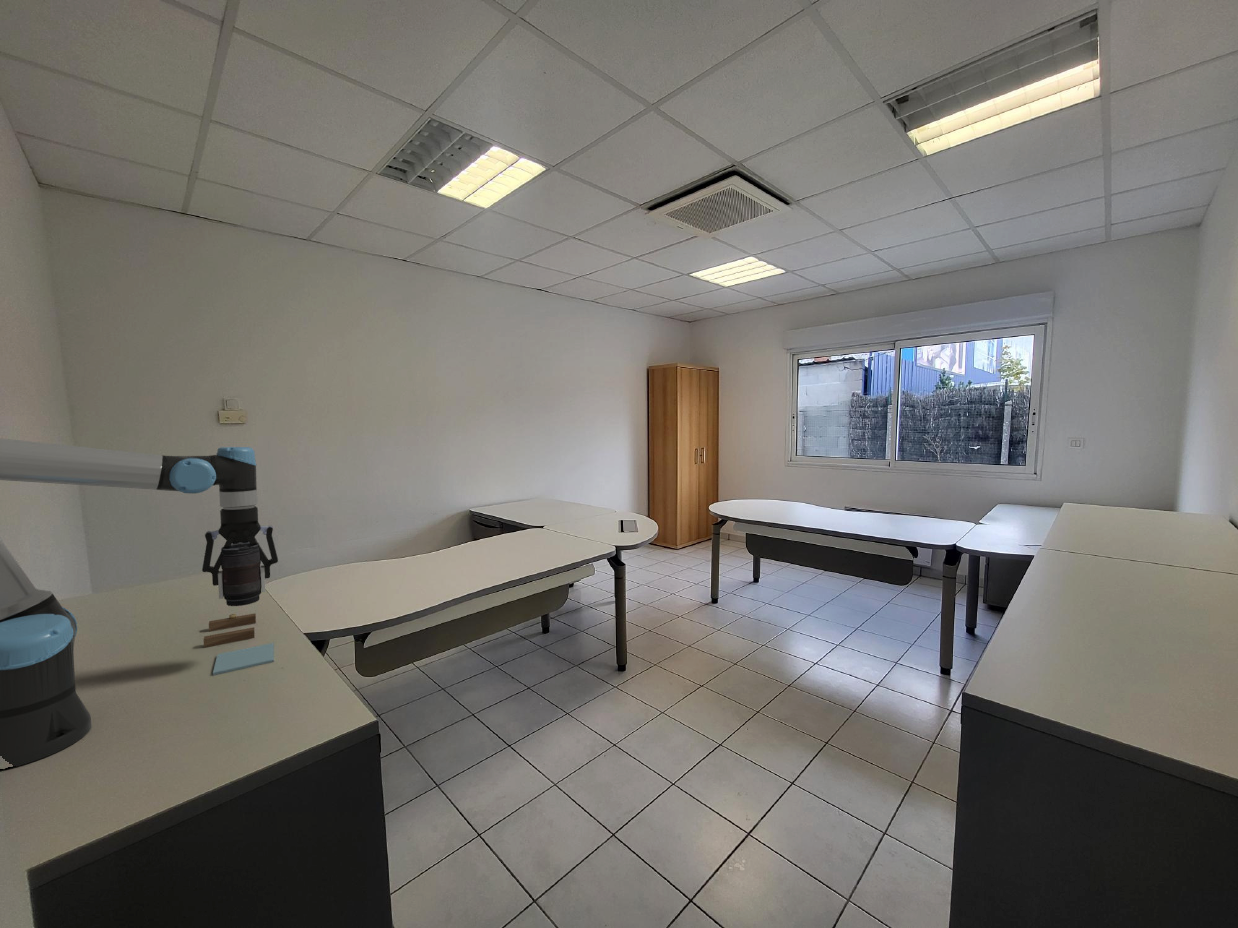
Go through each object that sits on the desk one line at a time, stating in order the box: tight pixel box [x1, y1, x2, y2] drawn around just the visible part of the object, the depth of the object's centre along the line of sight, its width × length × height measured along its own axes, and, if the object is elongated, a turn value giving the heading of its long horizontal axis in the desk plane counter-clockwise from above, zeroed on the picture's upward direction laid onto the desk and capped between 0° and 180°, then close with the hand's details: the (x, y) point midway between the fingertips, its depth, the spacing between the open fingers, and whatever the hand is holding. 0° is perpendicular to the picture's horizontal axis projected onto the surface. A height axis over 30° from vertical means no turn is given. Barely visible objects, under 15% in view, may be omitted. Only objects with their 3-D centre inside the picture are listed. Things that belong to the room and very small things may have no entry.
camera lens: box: [219, 542, 262, 607], centre depth 122 cm, size 8×8×15 cm
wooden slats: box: [203, 612, 257, 649], centre depth 139 cm, size 15×11×4 cm
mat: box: [212, 642, 275, 676], centre depth 124 cm, size 12×12×1 cm
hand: (243, 593), depth 123 cm, fingers closed on camera lens, 8 cm apart
